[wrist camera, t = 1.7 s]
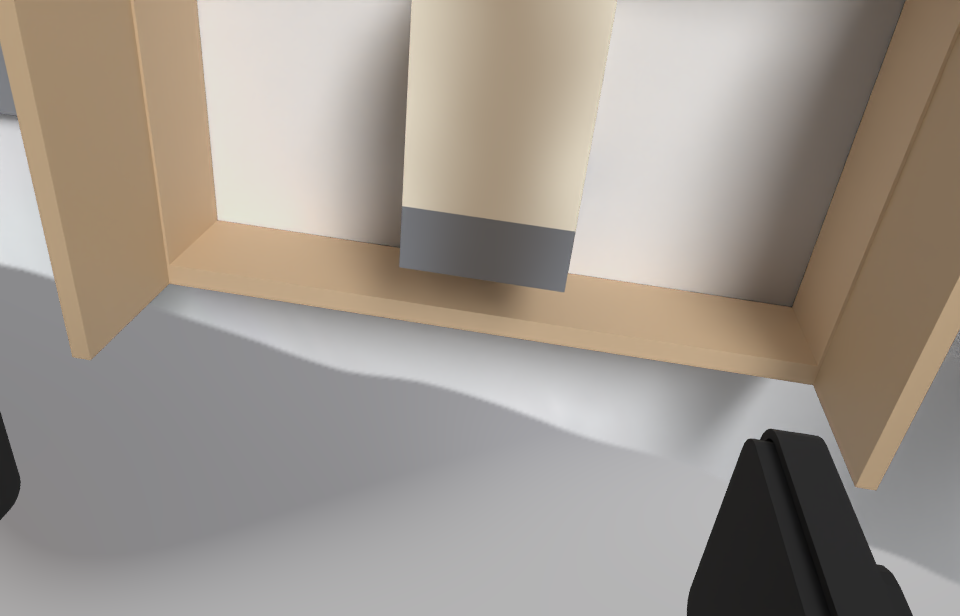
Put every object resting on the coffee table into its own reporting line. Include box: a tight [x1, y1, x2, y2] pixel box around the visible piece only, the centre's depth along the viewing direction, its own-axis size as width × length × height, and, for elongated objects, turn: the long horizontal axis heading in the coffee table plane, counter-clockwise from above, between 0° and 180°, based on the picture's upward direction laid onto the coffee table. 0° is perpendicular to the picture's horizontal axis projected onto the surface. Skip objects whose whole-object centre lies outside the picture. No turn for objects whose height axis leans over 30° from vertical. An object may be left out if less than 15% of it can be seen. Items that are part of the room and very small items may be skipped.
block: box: [399, 0, 617, 292], centre depth 23 cm, size 5×9×7 cm, turn 174°
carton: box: [0, 0, 960, 490], centre depth 22 cm, size 25×17×9 cm
